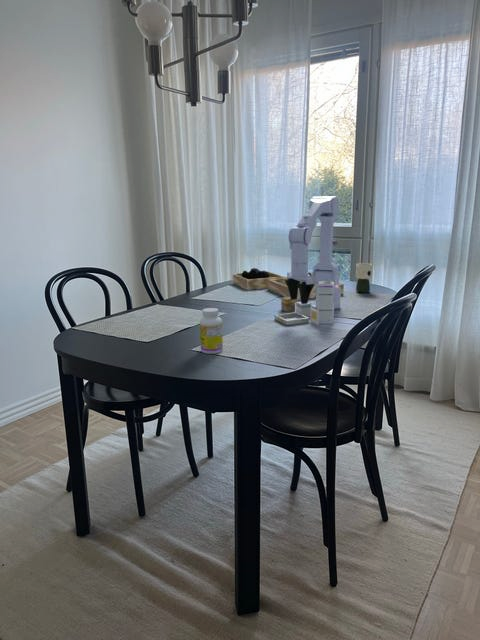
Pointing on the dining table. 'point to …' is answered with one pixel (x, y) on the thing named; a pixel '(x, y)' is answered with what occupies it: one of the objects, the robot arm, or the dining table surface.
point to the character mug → (363, 276)
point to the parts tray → (291, 318)
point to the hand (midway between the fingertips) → (298, 301)
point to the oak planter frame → (282, 289)
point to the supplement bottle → (211, 331)
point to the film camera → (255, 274)
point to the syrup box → (326, 302)
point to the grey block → (303, 308)
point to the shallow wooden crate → (254, 281)
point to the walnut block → (287, 304)
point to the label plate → (314, 316)
